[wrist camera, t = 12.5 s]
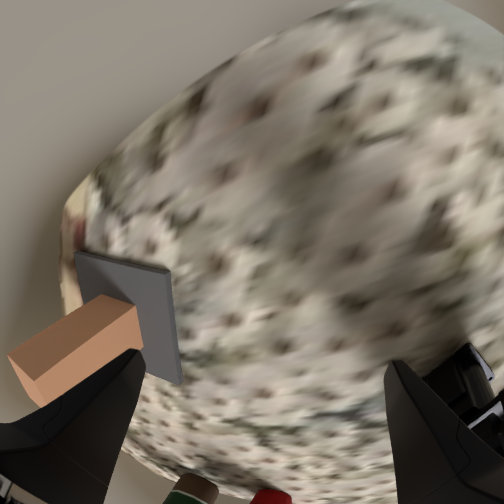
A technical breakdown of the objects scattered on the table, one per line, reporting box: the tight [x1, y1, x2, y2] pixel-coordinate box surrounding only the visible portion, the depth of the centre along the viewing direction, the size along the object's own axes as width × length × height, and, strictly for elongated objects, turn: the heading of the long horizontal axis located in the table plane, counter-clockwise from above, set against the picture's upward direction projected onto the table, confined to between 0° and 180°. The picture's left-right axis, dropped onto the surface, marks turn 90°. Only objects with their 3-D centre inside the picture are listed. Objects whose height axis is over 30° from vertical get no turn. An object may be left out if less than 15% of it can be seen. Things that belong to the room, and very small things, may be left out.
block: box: [7, 294, 144, 408], centre depth 21 cm, size 5×5×13 cm
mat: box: [74, 251, 183, 386], centre depth 27 cm, size 13×13×1 cm
